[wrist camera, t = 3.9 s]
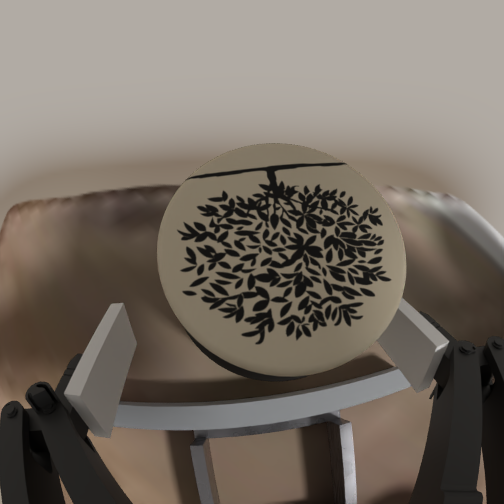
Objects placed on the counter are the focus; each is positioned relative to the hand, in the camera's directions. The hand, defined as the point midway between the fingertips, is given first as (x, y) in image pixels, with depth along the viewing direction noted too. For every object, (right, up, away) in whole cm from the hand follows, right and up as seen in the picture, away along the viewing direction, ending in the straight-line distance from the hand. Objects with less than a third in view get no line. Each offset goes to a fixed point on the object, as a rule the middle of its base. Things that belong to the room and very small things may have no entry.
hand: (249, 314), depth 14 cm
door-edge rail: (0, -10, +7) cm, 12 cm away
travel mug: (0, -4, +10) cm, 11 cm away
